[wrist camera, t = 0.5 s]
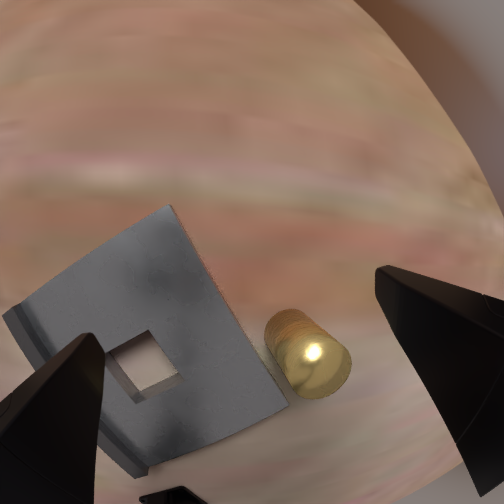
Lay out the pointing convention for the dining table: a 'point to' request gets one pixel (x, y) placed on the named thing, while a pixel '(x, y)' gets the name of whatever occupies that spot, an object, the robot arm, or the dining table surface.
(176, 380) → the jig
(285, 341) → the gold rounded cylinder
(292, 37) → the dining table surface
